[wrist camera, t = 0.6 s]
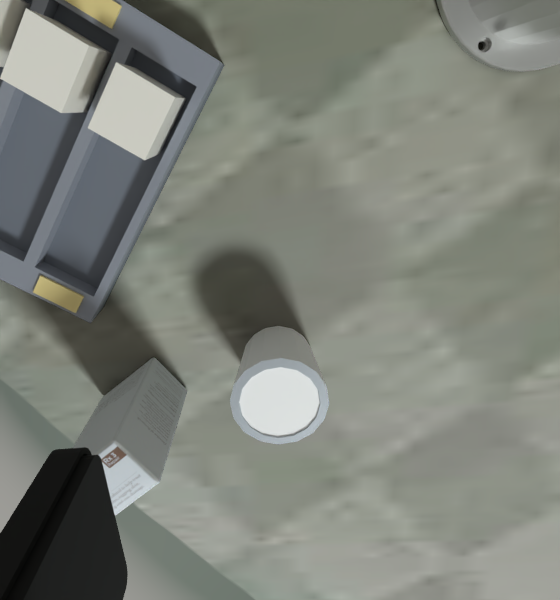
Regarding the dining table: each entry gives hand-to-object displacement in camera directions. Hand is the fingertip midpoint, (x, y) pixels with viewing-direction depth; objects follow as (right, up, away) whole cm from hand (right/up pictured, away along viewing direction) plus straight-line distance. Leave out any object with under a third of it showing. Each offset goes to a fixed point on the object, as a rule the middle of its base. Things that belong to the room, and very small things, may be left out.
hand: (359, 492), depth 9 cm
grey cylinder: (-2, -1, +33) cm, 33 cm away
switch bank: (-17, +15, +27) cm, 35 cm away
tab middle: (-15, +18, +23) cm, 33 cm away
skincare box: (-13, -4, +34) cm, 36 cm away
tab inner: (-10, +16, +24) cm, 31 cm away
